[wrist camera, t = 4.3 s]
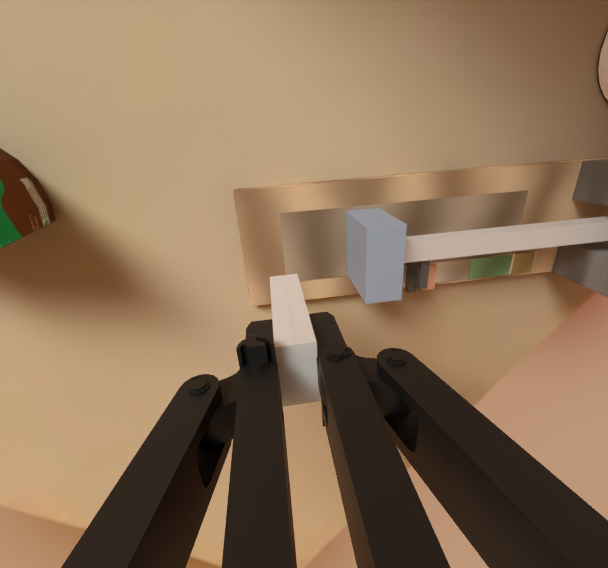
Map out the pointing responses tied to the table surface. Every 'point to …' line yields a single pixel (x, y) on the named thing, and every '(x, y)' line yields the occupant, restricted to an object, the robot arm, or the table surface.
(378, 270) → the grey hammer
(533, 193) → the gauge bed
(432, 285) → the orange small block
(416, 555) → the robot arm
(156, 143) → the table surface
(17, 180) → the food container
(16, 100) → the table surface
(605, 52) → the cup
